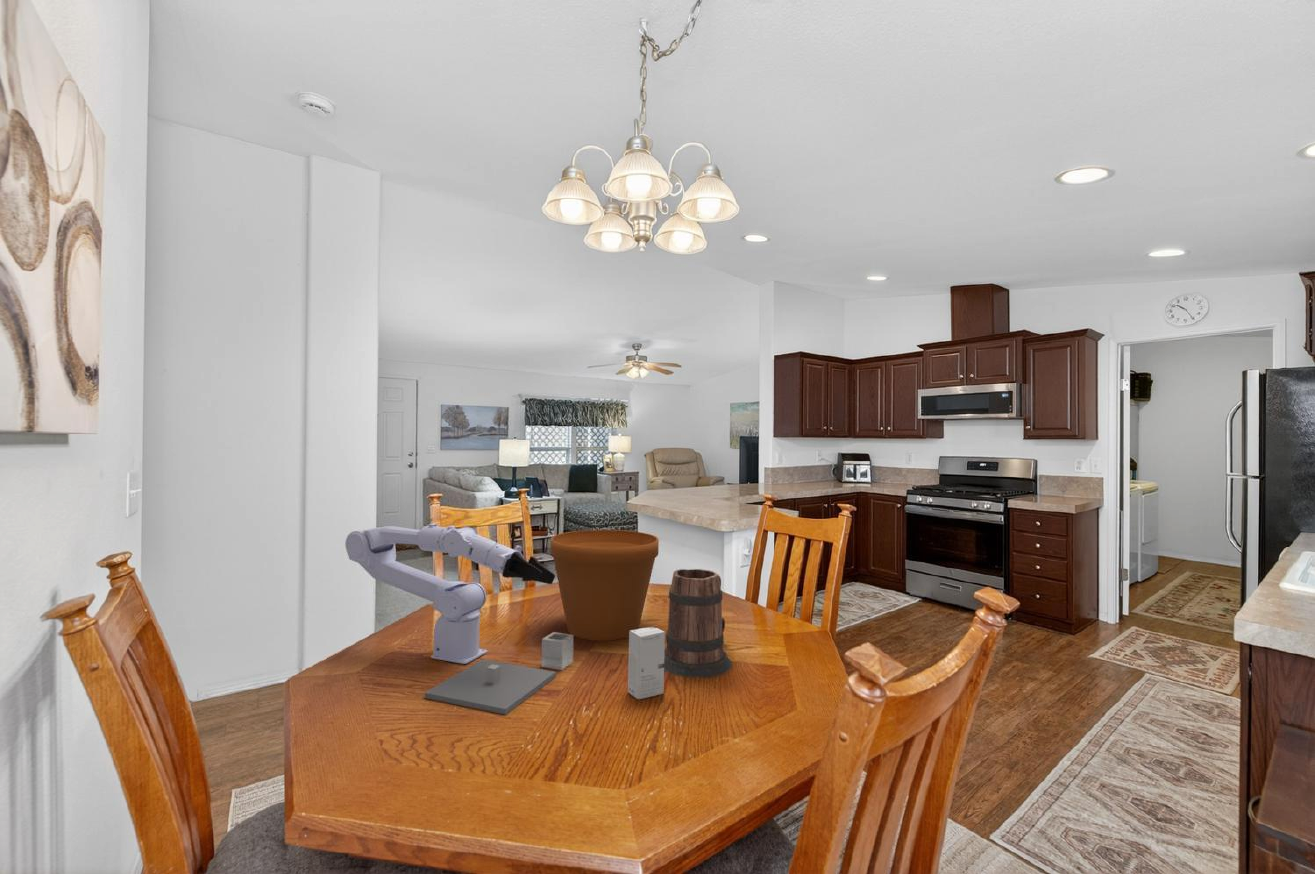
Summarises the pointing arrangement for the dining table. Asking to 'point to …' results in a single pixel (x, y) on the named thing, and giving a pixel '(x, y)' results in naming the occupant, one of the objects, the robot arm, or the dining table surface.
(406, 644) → the dining table surface
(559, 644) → the square socket
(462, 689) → the block
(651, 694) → the skincare box
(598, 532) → the flowerpot
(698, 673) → the tankard
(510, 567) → the robot arm
